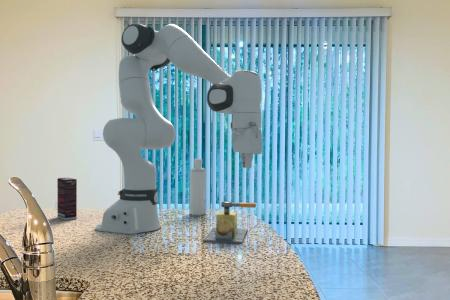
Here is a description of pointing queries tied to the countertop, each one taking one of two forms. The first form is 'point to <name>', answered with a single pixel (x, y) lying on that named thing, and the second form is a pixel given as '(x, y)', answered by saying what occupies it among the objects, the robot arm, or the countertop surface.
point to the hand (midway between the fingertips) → (246, 167)
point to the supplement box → (67, 198)
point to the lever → (237, 204)
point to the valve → (226, 229)
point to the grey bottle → (198, 189)
